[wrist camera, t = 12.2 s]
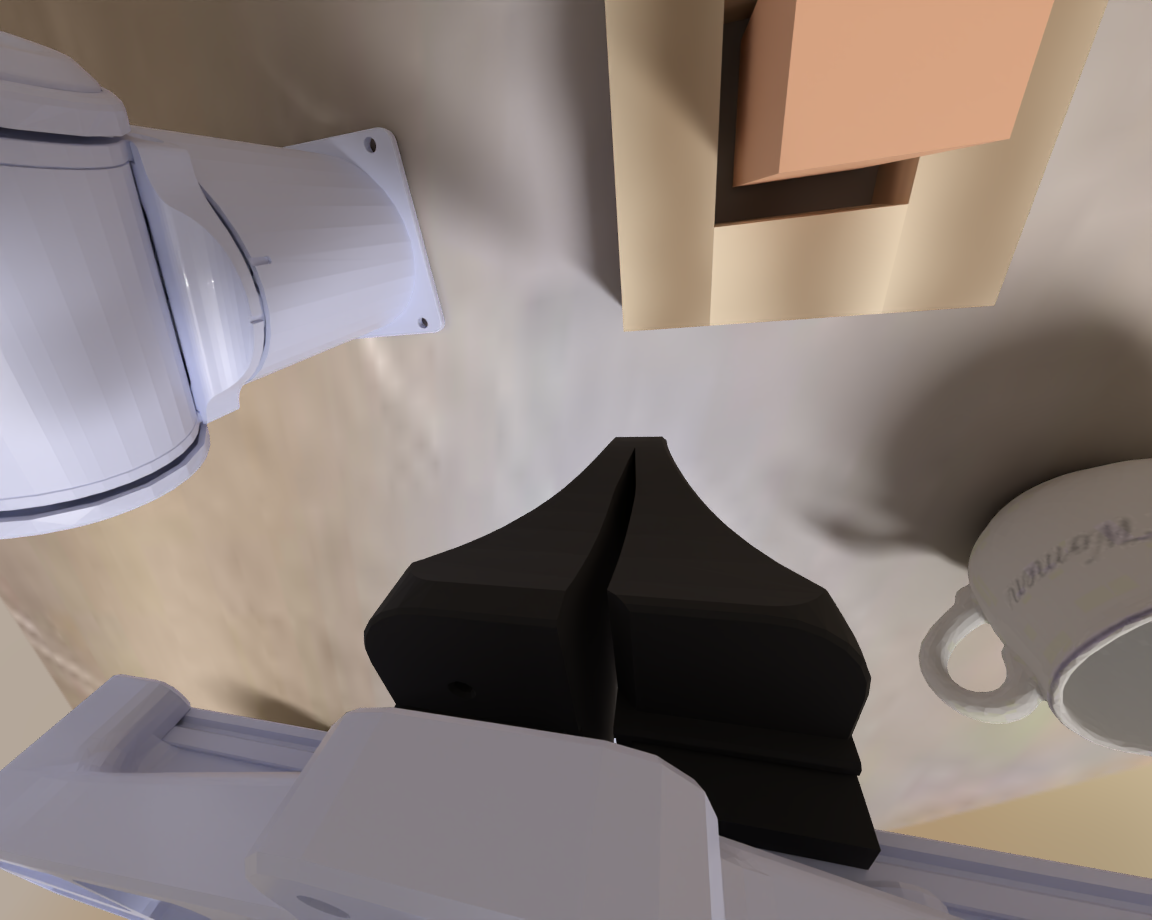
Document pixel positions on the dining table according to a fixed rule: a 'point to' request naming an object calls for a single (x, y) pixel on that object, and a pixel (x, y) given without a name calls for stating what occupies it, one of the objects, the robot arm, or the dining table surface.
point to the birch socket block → (805, 187)
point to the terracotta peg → (878, 81)
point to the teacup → (1063, 608)
